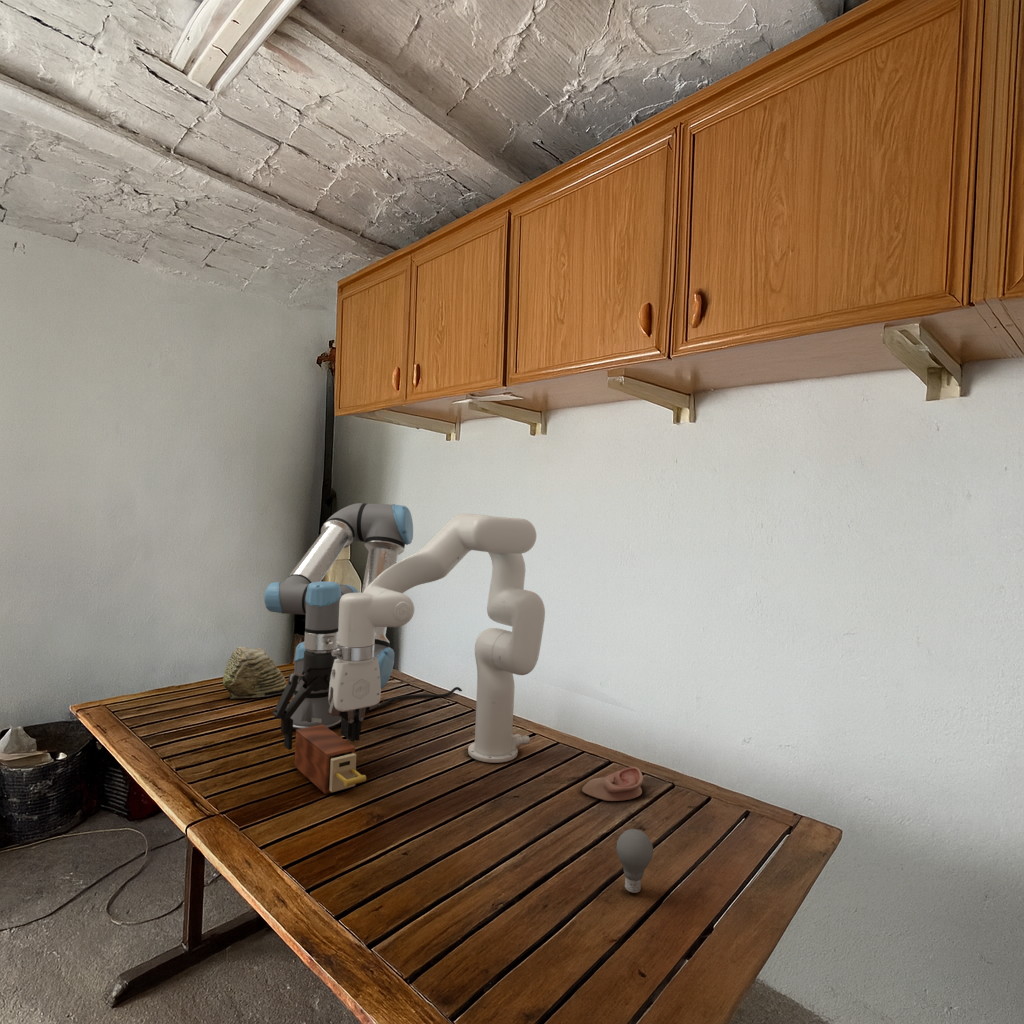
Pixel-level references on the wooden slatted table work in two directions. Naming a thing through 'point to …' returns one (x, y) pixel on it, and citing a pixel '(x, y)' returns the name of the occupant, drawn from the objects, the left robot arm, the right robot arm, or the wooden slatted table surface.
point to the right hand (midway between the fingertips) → (352, 738)
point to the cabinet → (318, 753)
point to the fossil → (252, 674)
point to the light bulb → (634, 857)
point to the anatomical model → (616, 785)
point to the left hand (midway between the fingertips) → (317, 741)
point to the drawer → (343, 772)
